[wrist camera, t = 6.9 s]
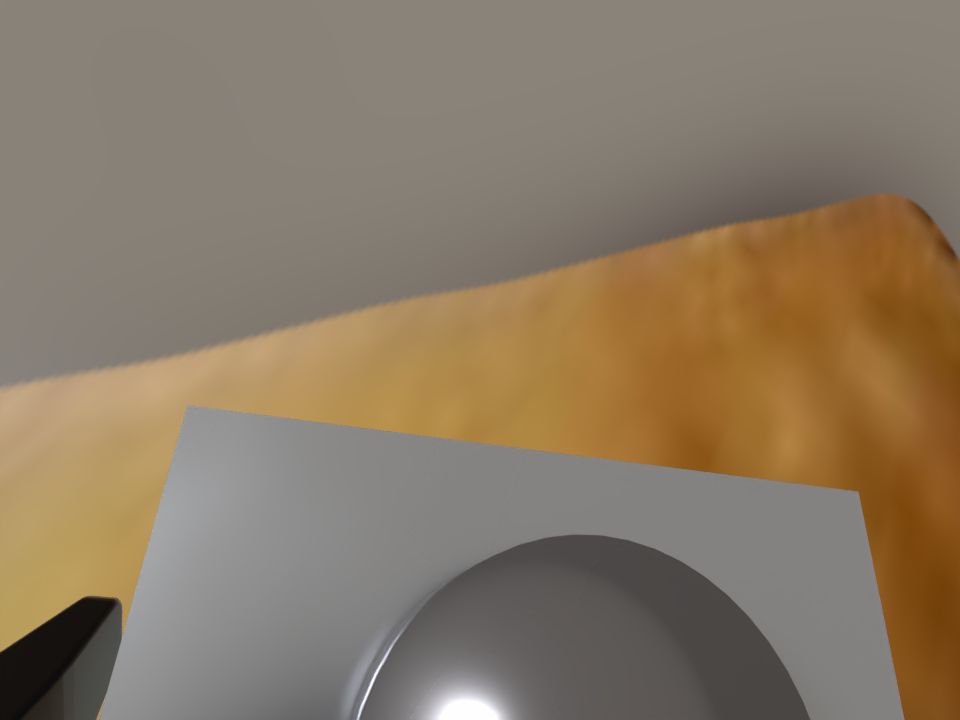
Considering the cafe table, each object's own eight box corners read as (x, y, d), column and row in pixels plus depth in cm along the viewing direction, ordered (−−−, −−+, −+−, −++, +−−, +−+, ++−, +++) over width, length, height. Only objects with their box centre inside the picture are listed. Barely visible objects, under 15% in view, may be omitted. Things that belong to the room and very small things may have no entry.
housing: (517, 806, 15) (1188, 1376, 3) (234, 800, 14) (-246, 1647, 2) (523, 576, 17) (937, 440, 6) (281, 554, 16) (168, 324, 4)
